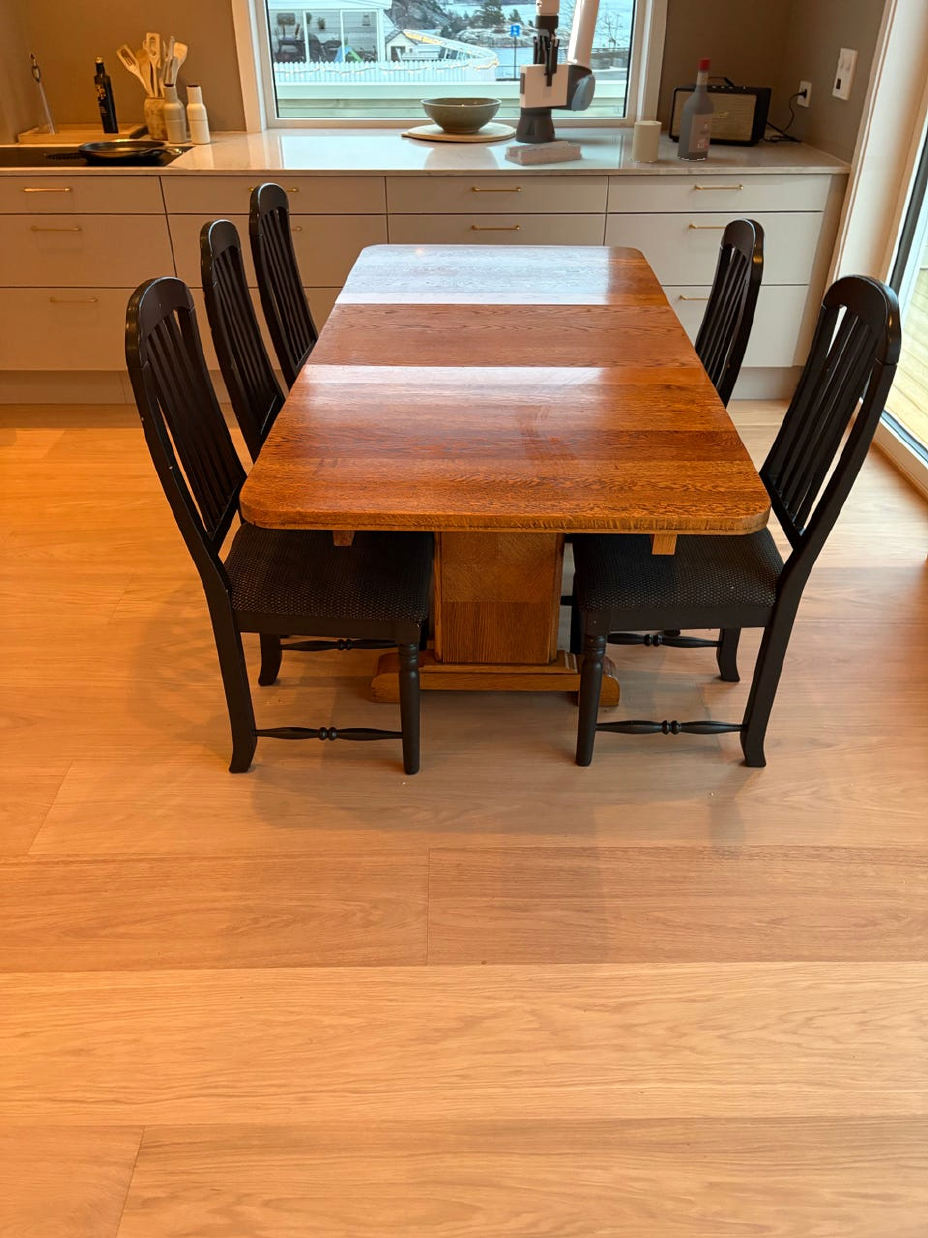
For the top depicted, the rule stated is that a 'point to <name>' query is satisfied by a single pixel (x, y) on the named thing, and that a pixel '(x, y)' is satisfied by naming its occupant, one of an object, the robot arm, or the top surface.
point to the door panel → (534, 86)
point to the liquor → (697, 118)
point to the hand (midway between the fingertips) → (543, 96)
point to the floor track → (542, 152)
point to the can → (646, 141)
